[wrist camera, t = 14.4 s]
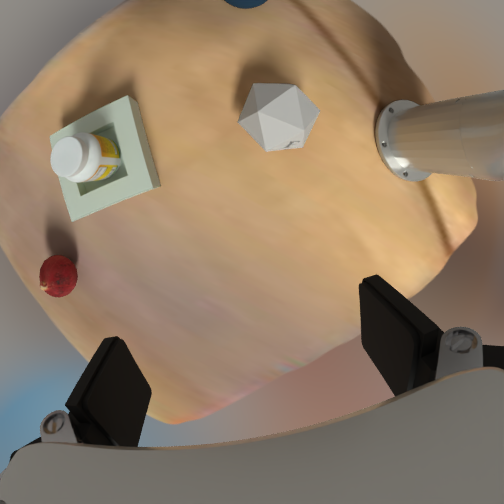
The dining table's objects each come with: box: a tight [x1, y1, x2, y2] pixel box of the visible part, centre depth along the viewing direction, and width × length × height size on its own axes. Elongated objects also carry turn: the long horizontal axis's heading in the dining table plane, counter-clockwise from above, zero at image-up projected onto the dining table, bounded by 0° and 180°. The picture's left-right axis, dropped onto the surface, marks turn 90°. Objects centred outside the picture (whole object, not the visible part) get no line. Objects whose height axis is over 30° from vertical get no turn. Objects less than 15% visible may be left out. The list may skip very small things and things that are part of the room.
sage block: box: [50, 95, 161, 222], centre depth 30 cm, size 12×12×4 cm
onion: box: [39, 255, 78, 297], centre depth 31 cm, size 6×6×8 cm
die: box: [238, 83, 320, 152], centre depth 29 cm, size 8×9×10 cm
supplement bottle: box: [51, 132, 121, 182], centre depth 25 cm, size 5×5×10 cm
